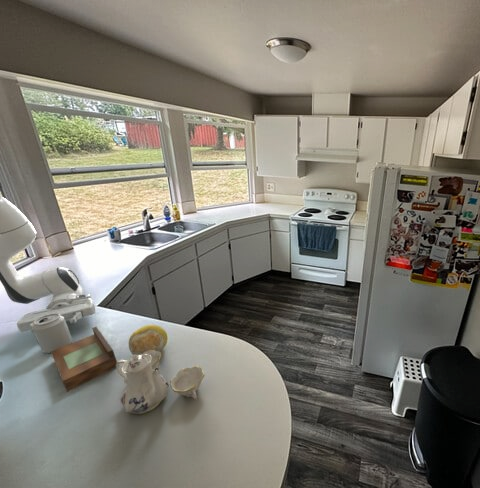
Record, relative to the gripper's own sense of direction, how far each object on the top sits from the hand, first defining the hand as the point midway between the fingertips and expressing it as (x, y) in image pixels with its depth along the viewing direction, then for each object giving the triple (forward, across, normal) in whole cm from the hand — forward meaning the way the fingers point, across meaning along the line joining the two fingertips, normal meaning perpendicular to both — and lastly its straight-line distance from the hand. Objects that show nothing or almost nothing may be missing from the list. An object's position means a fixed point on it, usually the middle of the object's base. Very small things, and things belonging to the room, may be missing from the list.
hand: (54, 326), depth 88 cm
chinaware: (+43, +28, +7) cm, 52 cm away
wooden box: (+19, +9, +6) cm, 22 cm away
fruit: (+24, +27, +7) cm, 37 cm away
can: (+4, 0, +7) cm, 8 cm away
